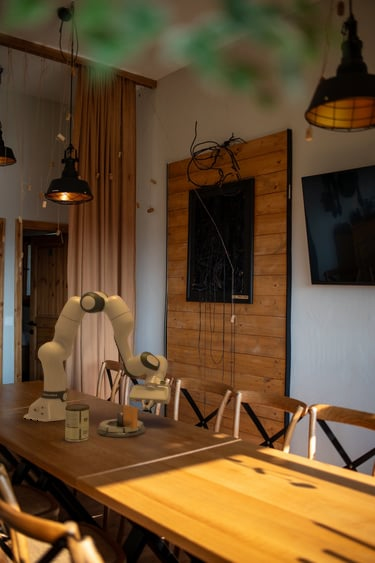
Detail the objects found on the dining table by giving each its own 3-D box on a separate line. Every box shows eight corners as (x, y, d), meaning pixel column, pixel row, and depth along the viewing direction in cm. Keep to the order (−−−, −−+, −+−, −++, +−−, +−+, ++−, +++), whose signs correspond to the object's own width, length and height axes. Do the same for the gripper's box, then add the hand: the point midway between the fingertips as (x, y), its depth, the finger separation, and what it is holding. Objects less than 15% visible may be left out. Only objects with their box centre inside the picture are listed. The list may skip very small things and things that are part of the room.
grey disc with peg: (88, 435, 240) (88, 416, 241) (109, 424, 261) (109, 406, 262) (134, 439, 234) (134, 419, 234) (152, 428, 255) (152, 409, 255)
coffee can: (69, 435, 240) (69, 403, 240) (91, 436, 239) (92, 404, 239) (61, 441, 230) (62, 408, 230) (85, 442, 229) (85, 408, 229)
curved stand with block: (93, 425, 250) (93, 402, 250) (128, 420, 261) (129, 398, 261) (116, 436, 232) (116, 410, 232) (153, 430, 243) (153, 406, 244)
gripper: (131, 380, 266) (123, 403, 256) (171, 382, 260) (164, 406, 250) (135, 387, 270) (127, 411, 260) (174, 390, 264) (167, 414, 254)
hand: (145, 409), depth 255 cm, fingers closed
